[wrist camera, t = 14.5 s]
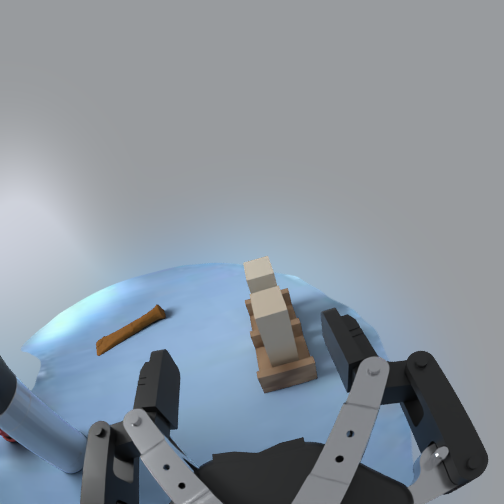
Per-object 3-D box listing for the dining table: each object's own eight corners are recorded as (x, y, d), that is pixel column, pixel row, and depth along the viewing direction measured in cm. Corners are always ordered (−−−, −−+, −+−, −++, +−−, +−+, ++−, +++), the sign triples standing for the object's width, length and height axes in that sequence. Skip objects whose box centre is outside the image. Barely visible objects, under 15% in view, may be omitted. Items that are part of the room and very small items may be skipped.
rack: (264, 393, 37) (257, 378, 35) (250, 316, 52) (244, 300, 50) (317, 378, 37) (315, 362, 35) (291, 305, 52) (287, 288, 50)
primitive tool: (98, 358, 51) (89, 347, 50) (96, 344, 56) (88, 333, 54) (169, 319, 58) (162, 308, 56) (163, 308, 63) (156, 296, 61)
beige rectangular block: (274, 374, 38) (254, 319, 32) (268, 350, 43) (249, 294, 37) (300, 366, 38) (287, 309, 32) (292, 343, 43) (278, 285, 37)
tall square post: (265, 336, 45) (246, 280, 40) (261, 316, 50) (243, 262, 44) (288, 329, 45) (273, 272, 40) (282, 310, 50) (267, 255, 44)
